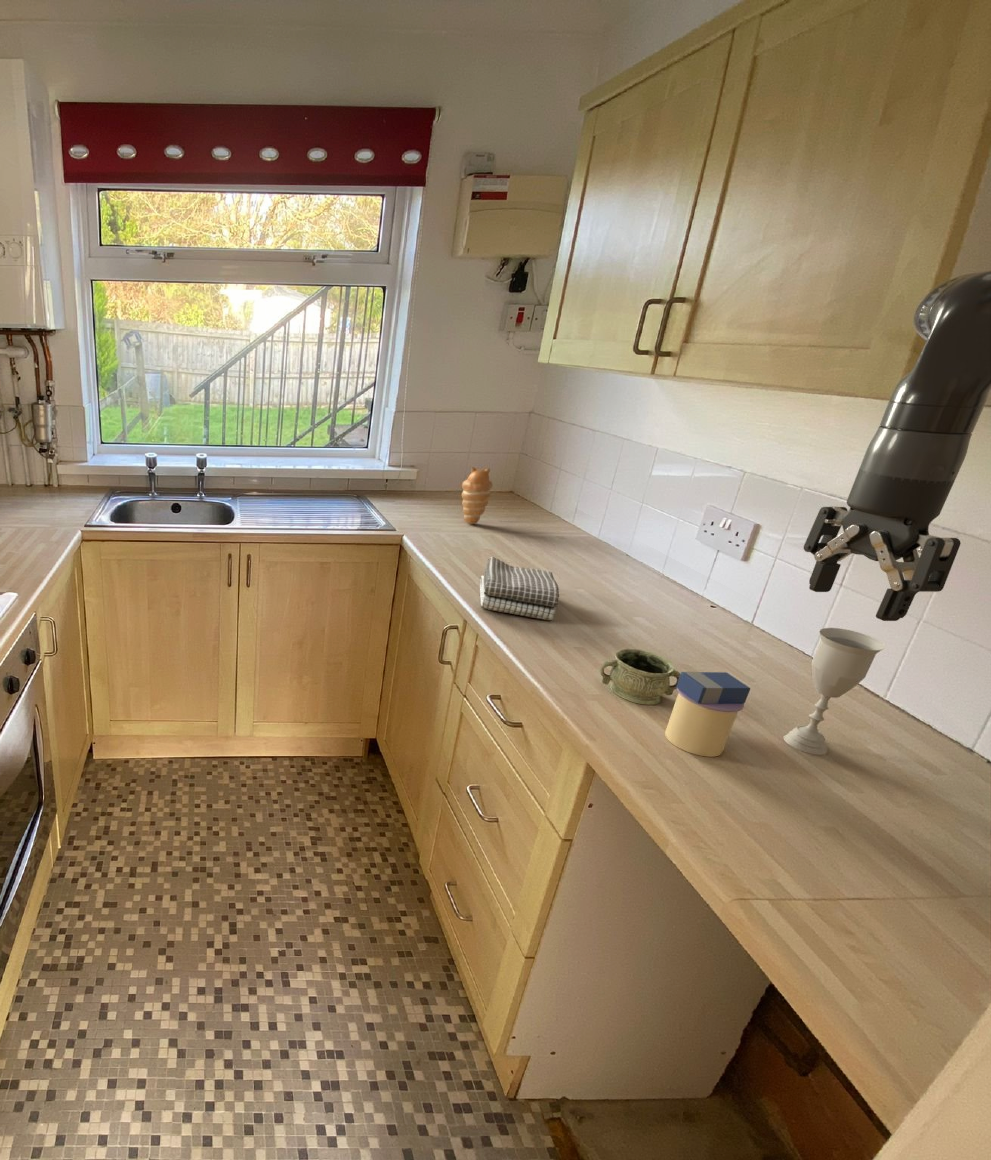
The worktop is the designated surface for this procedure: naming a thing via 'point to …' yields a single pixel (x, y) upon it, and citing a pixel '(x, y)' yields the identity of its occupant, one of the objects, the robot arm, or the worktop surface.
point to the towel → (518, 590)
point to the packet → (712, 687)
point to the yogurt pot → (701, 725)
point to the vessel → (640, 676)
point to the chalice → (834, 679)
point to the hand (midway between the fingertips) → (850, 604)
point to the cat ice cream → (476, 494)
